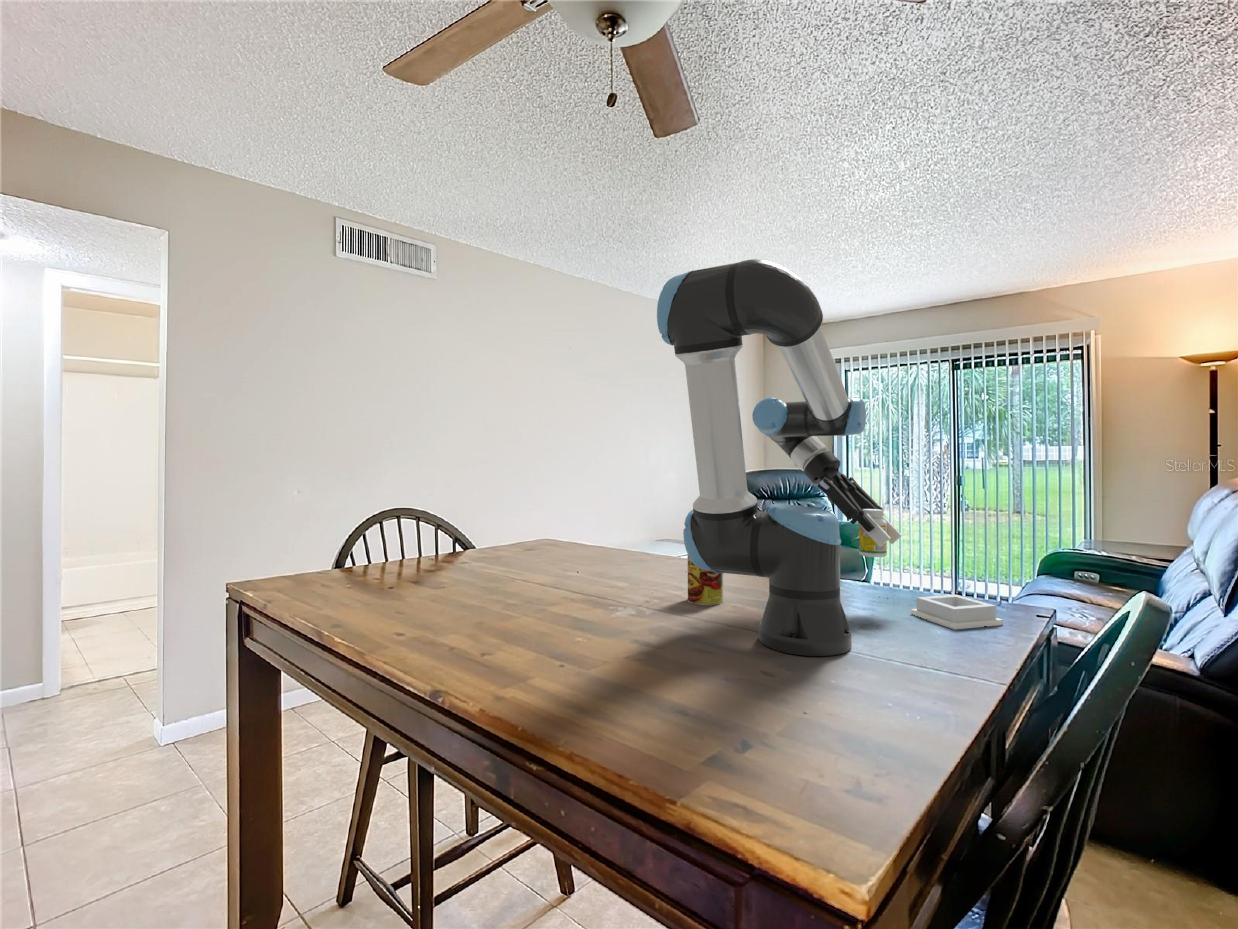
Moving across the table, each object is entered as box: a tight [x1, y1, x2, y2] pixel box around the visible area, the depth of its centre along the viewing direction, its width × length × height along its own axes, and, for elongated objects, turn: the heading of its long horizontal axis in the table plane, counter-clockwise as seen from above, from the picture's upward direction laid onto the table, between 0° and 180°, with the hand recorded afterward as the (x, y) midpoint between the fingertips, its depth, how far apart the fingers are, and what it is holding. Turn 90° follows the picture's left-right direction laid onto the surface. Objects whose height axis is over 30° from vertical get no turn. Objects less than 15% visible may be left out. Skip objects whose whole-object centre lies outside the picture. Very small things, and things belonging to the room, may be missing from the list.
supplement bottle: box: [858, 509, 888, 558], centre depth 122 cm, size 5×5×10 cm
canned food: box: [687, 555, 724, 606], centre depth 130 cm, size 8×8×12 cm
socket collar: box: [910, 594, 1004, 630], centre depth 113 cm, size 11×11×4 cm
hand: (891, 540), depth 119 cm, fingers closed on supplement bottle, 5 cm apart
